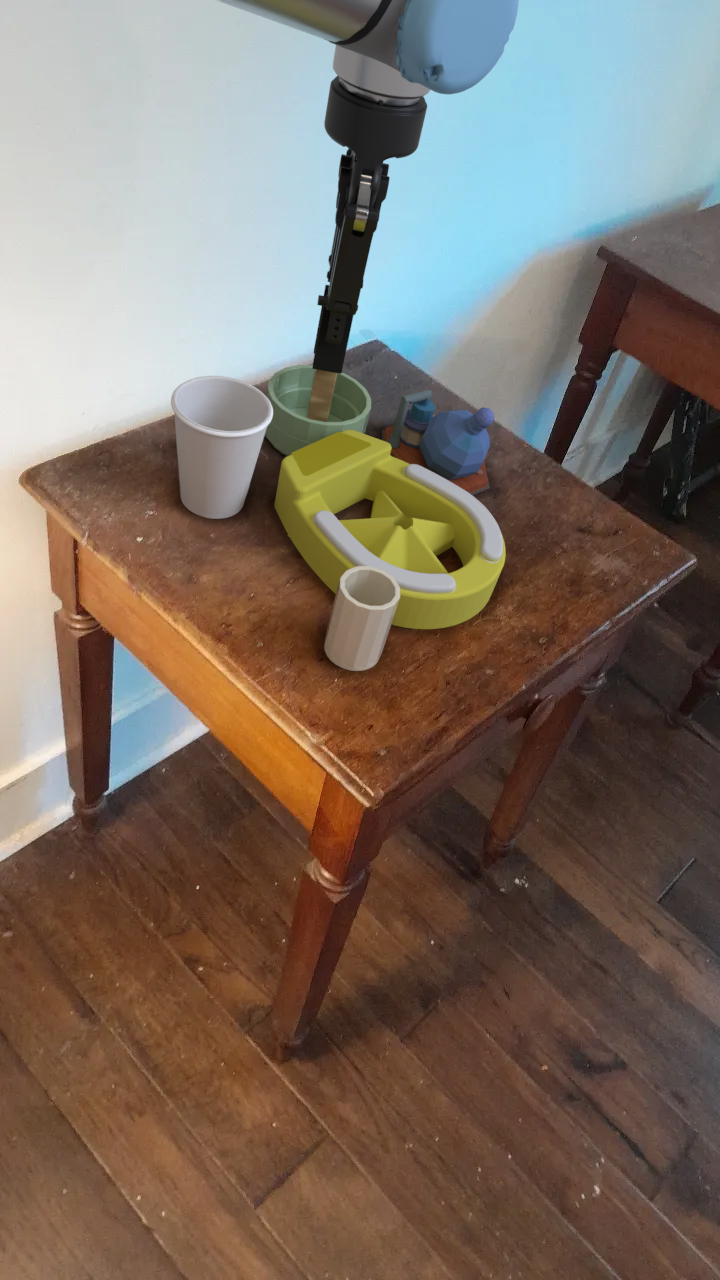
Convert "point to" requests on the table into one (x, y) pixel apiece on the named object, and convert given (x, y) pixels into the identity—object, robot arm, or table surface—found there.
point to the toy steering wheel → (390, 527)
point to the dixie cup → (218, 442)
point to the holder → (361, 617)
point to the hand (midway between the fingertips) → (327, 361)
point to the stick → (321, 395)
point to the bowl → (291, 407)
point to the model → (442, 441)
